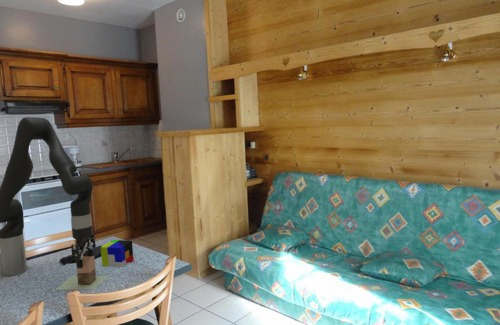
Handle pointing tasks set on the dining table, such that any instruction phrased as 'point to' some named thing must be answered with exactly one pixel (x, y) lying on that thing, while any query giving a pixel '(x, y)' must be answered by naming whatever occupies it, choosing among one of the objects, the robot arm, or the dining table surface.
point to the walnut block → (86, 278)
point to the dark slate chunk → (95, 253)
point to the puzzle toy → (117, 253)
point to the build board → (73, 284)
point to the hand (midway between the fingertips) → (85, 263)
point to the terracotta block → (87, 264)
